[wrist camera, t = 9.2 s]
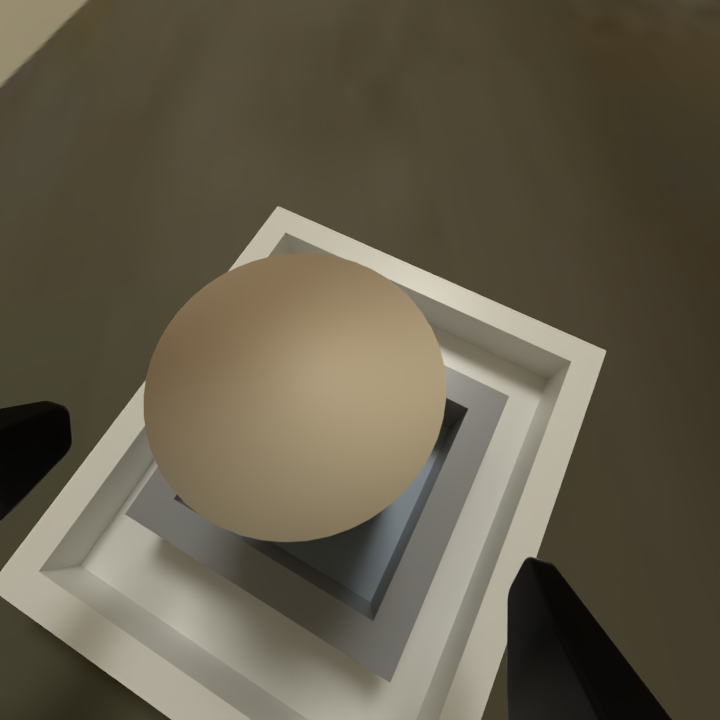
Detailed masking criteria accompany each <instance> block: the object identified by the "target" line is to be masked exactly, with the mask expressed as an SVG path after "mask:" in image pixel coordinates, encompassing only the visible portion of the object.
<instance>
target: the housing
mask: <svg viewBox="0 0 720 720" xmlns="http://www.w3.org/2000/svg"><path fill="white" fill-rule="evenodd" d="M297 253H310V254H323V255H329V256H335V257H340V258H343V259H347V260H350V261H353V262H356V263H359V264H361V265H363V266H366V267H368V268H370V269H372V270H374V271H376V272H377V273H379V274H381V275H383V276H384V277H386V278H387V279H389V280H390V281H391V282H393V283H394V284H395V285H397V286H398V287H399V288H400V289H401V290H402V291H403V292H404V293H405V294H407V295H408V296H409V297H410V298H411V299H412V301H413V302H414V303H415V304H416V306H417V307H418V308H419V309H420V311H421V312H422V313H423V315H424V316H425V318H426V320H427V321H428V323H429V325H430V326H431V328H432V330H433V333H434V335H435V337H436V339H437V342H438V344H439V347H440V351H441V355H442V358H443V362H444V369H445V376H446V403H445V410H444V418H443V421H442V425H441V429H440V432H439V436H438V439H437V441H436V443H435V445H434V448H433V450H432V452H431V455H430V457H429V458H428V460H427V462H426V463H425V465H424V466H423V468H422V470H421V471H420V473H419V474H418V476H417V477H416V478H415V479H414V481H413V482H412V483H411V484H410V485H409V487H408V488H407V489H406V490H405V491H404V492H403V493H402V494H401V495H400V496H399V497H398V498H397V499H396V500H395V501H394V502H393V503H391V504H390V505H389V506H388V507H386V508H385V509H384V510H382V511H381V512H379V513H378V514H377V515H375V516H374V517H372V518H371V519H369V520H367V521H365V522H363V523H361V524H359V525H357V526H355V527H353V528H351V529H349V530H346V531H343V532H340V533H338V534H335V535H332V536H329V537H324V538H319V539H314V540H309V541H297V542H276V541H264V540H258V539H254V538H250V537H246V536H241V535H238V534H236V533H233V532H231V531H228V530H226V529H223V528H221V527H219V526H217V525H215V524H214V523H212V522H210V521H209V520H207V519H205V518H203V517H202V516H200V515H199V514H198V513H197V512H195V511H194V510H193V509H192V508H191V507H189V506H188V505H187V504H186V503H185V502H184V501H183V500H182V499H181V498H180V497H179V496H178V495H177V494H176V493H175V491H174V490H173V489H172V488H171V487H170V485H169V484H168V482H167V481H166V479H165V478H164V476H163V475H162V473H161V472H160V470H159V467H158V465H157V463H156V461H155V459H154V457H153V455H152V452H151V449H150V445H149V442H148V438H147V435H146V429H145V421H144V390H145V383H146V381H145V382H144V383H143V384H142V386H141V387H140V388H139V390H138V391H137V392H136V394H135V395H134V396H133V398H132V399H131V400H130V402H129V403H128V404H127V406H126V407H125V408H124V410H123V411H122V412H121V413H120V415H119V416H118V417H117V419H116V420H115V421H114V423H113V424H112V425H111V427H110V428H109V429H108V431H107V432H106V433H105V435H104V436H103V437H102V439H101V440H100V441H99V442H98V444H97V445H96V446H95V448H94V449H93V450H92V452H91V453H90V454H89V456H88V457H87V458H86V460H85V461H84V462H83V464H82V465H81V466H80V468H79V469H78V470H77V471H76V473H75V474H74V475H73V477H72V478H71V479H70V481H69V482H68V483H67V485H66V486H65V487H64V489H63V490H62V491H61V493H60V494H59V495H58V497H57V498H56V499H55V500H54V502H53V503H52V504H51V506H50V507H49V508H48V510H47V511H46V512H45V514H44V515H43V516H42V518H41V519H40V520H39V522H38V523H37V524H36V526H35V527H34V528H33V529H32V531H31V532H30V533H29V535H28V536H27V537H26V539H25V540H24V541H23V543H22V544H21V545H20V547H19V548H18V549H17V551H16V552H15V553H14V555H13V556H12V557H11V558H10V560H9V561H8V562H7V564H6V565H5V566H4V568H3V569H2V570H1V572H0V596H1V597H3V598H4V599H6V600H7V601H8V602H10V603H11V604H13V605H14V606H15V607H17V608H18V609H19V610H21V611H22V612H24V613H25V614H26V615H28V616H29V617H30V618H32V619H33V620H35V621H36V622H37V623H39V624H40V625H42V626H43V627H44V628H46V629H47V630H48V631H50V632H51V633H53V634H54V635H55V636H57V637H58V638H59V639H61V640H62V641H64V642H65V643H66V644H68V645H69V646H70V647H72V648H73V649H75V650H76V651H77V652H79V653H80V654H82V655H83V656H84V657H86V658H87V659H88V660H90V661H91V662H93V663H94V664H95V665H97V666H98V667H99V668H101V669H102V670H104V671H105V672H106V673H108V674H109V675H111V676H112V677H113V678H115V679H116V680H117V681H119V682H120V683H122V684H123V685H124V686H126V687H127V688H128V689H130V690H131V691H133V692H134V693H135V694H137V695H138V696H140V697H141V698H142V699H144V700H145V701H146V702H148V703H149V704H151V705H152V706H153V707H155V708H156V709H157V710H159V711H160V712H162V713H163V714H164V715H166V716H167V717H168V718H170V719H171V720H481V718H482V715H483V712H484V709H485V706H486V703H487V700H488V697H489V694H490V691H491V688H492V685H493V682H494V680H495V677H496V674H497V671H498V668H499V665H500V662H501V659H502V656H503V653H504V650H505V647H506V644H507V600H508V593H509V589H510V587H511V584H512V583H513V581H514V579H515V577H516V575H517V573H518V571H519V569H520V567H521V566H522V564H523V562H524V560H525V559H526V558H527V557H534V558H536V556H537V553H538V550H539V547H540V544H541V542H542V539H543V536H544V533H545V530H546V527H547V524H548V521H549V518H550V515H551V512H552V509H553V506H554V503H555V500H556V497H557V495H558V492H559V489H560V486H561V483H562V480H563V477H564V474H565V471H566V468H567V465H568V462H569V459H570V456H571V453H572V450H573V448H574V445H575V442H576V439H577V436H578V433H579V430H580V427H581V424H582V421H583V418H584V415H585V412H586V409H587V406H588V403H589V401H590V398H591V395H592V392H593V389H594V386H595V383H596V380H597V377H598V374H599V371H600V368H601V365H602V362H603V359H604V356H605V354H606V350H603V349H601V348H599V347H597V346H594V345H592V344H590V343H587V342H585V341H583V340H581V339H578V338H576V337H574V336H572V335H569V334H567V333H565V332H562V331H560V330H558V329H556V328H553V327H551V326H549V325H547V324H544V323H542V322H540V321H537V320H535V319H533V318H531V317H528V316H526V315H524V314H522V313H519V312H517V311H515V310H513V309H510V308H508V307H506V306H503V305H501V304H499V303H497V302H494V301H492V300H490V299H488V298H485V297H483V296H481V295H478V294H476V293H474V292H472V291H469V290H467V289H465V288H463V287H460V286H458V285H456V284H454V283H451V282H449V281H447V280H444V279H442V278H440V277H438V276H435V275H433V274H431V273H429V272H426V271H424V270H422V269H419V268H417V267H415V266H413V265H410V264H408V263H406V262H404V261H401V260H399V259H397V258H394V257H392V256H390V255H388V254H385V253H383V252H381V251H379V250H376V249H374V248H372V247H370V246H367V245H365V244H363V243H360V242H358V241H356V240H354V239H351V238H349V237H347V236H345V235H342V234H340V233H338V232H335V231H333V230H331V229H329V228H326V227H324V226H322V225H320V224H317V223H315V222H313V221H311V220H308V219H306V218H304V217H301V216H299V215H297V214H295V213H292V212H290V211H288V210H286V209H283V208H281V207H279V206H278V207H277V208H276V209H275V211H274V212H273V213H272V214H271V216H270V217H269V218H268V220H267V221H266V222H265V224H264V225H263V226H262V228H261V229H260V230H259V232H258V233H257V234H256V236H255V237H254V238H253V240H252V241H251V242H250V243H249V245H248V246H247V247H246V249H245V250H244V251H243V253H242V254H241V255H240V257H239V258H238V259H237V261H236V262H235V263H234V265H233V266H232V267H231V269H230V270H229V271H231V270H233V269H235V268H237V267H239V266H242V265H245V264H247V263H250V262H252V261H256V260H259V259H263V258H267V257H271V256H277V255H284V254H297ZM229 271H228V272H229Z"/></svg>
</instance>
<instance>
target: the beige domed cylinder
mask: <svg viewBox="0 0 720 720" xmlns="http://www.w3.org/2000/svg"><path fill="white" fill-rule="evenodd" d="M445 403H446V376H445V369H444V362H443V358H442V355H441V351H440V347H439V344H438V342H437V339H436V337H435V335H434V333H433V330H432V328H431V326H430V325H429V323H428V321H427V320H426V318H425V316H424V315H423V313H422V312H421V311H420V309H419V308H418V307H417V306H416V304H415V303H414V302H413V301H412V299H411V298H410V297H409V296H408V295H407V294H405V293H404V292H403V291H402V290H401V289H400V288H399V287H398V286H397V285H395V284H394V283H393V282H391V281H390V280H389V279H387V278H386V277H384V276H383V275H381V274H379V273H377V272H376V271H374V270H372V269H370V268H368V267H366V266H363V265H361V264H359V263H356V262H353V261H350V260H347V259H343V258H340V257H335V256H329V255H323V254H310V253H297V254H284V255H277V256H271V257H267V258H263V259H259V260H256V261H252V262H250V263H247V264H245V265H242V266H239V267H237V268H235V269H233V270H231V271H229V272H227V273H225V274H223V275H221V276H220V277H218V278H217V279H215V280H214V281H212V282H211V283H209V284H208V285H206V286H205V287H204V288H202V289H201V290H200V291H199V292H198V293H196V294H195V295H194V296H193V297H192V298H191V299H190V300H189V301H188V302H187V303H186V304H185V305H184V306H183V307H182V308H181V309H180V310H179V311H178V313H177V314H176V315H175V317H174V318H173V319H172V321H171V322H170V323H169V325H168V326H167V328H166V330H165V332H164V333H163V335H162V337H161V338H160V340H159V342H158V344H157V347H156V349H155V351H154V354H153V356H152V359H151V362H150V366H149V369H148V373H147V376H146V383H145V390H144V421H145V429H146V435H147V438H148V442H149V445H150V449H151V452H152V455H153V457H154V459H155V461H156V463H157V465H158V467H159V470H160V472H161V473H162V475H163V476H164V478H165V479H166V481H167V482H168V484H169V485H170V487H171V488H172V489H173V490H174V491H175V493H176V494H177V495H178V496H179V497H180V498H181V499H182V500H183V501H184V502H185V503H186V504H187V505H188V506H189V507H191V508H192V509H193V510H194V511H195V512H197V513H198V514H199V515H200V516H202V517H203V518H205V519H207V520H209V521H210V522H212V523H214V524H215V525H217V526H219V527H221V528H223V529H226V530H228V531H231V532H233V533H236V534H238V535H241V536H246V537H250V538H254V539H258V540H264V541H276V542H297V541H309V540H314V539H319V538H324V537H329V536H332V535H335V534H338V533H340V532H343V531H346V530H349V529H351V528H353V527H355V526H357V525H359V524H361V523H363V522H365V521H367V520H369V519H371V518H372V517H374V516H375V515H377V514H378V513H379V512H381V511H382V510H384V509H385V508H386V507H388V506H389V505H390V504H391V503H393V502H394V501H395V500H396V499H397V498H398V497H399V496H400V495H401V494H402V493H403V492H404V491H405V490H406V489H407V488H408V487H409V485H410V484H411V483H412V482H413V481H414V479H415V478H416V477H417V476H418V474H419V473H420V471H421V470H422V468H423V466H424V465H425V463H426V462H427V460H428V458H429V457H430V455H431V452H432V450H433V448H434V445H435V443H436V441H437V439H438V436H439V432H440V429H441V425H442V421H443V418H444V410H445Z"/></svg>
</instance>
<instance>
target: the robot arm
mask: <svg viewBox="0 0 720 720" xmlns="http://www.w3.org/2000/svg"><path fill="white" fill-rule="evenodd" d="M71 445H72V428H71V416H70V411H69V410H68V408H67V407H65V406H63V405H60V404H57V403H54V402H50V401H41V402H36V403H30V404H24V405H19V406H13V407H8V408H2V409H0V522H1V521H2V520H3V519H4V518H5V517H6V516H7V515H8V514H9V513H10V512H11V511H12V510H13V509H14V508H15V507H16V506H17V505H18V504H19V503H20V502H21V501H22V500H23V499H24V498H25V497H26V496H27V495H28V494H29V493H30V492H31V491H32V489H33V488H34V487H35V486H36V485H37V484H38V483H39V482H40V481H41V480H42V479H43V478H44V477H45V476H46V475H47V474H48V473H49V472H50V471H51V470H52V469H53V467H54V466H55V465H56V464H57V463H58V462H59V461H60V460H61V459H62V458H63V457H64V456H65V455H66V454H67V453H68V451H69V449H70V448H71ZM507 703H508V717H509V720H672V719H671V718H670V717H669V715H668V714H667V713H666V711H665V710H664V709H663V708H662V706H661V705H660V704H659V702H658V701H657V700H656V698H655V697H654V696H653V694H652V693H651V692H650V690H649V689H648V688H647V687H646V685H645V684H644V683H643V681H642V680H641V679H640V677H639V676H638V675H637V673H636V672H635V671H634V669H633V668H632V667H631V665H630V664H629V663H628V662H627V660H626V659H625V658H624V656H623V655H622V654H621V652H620V651H619V650H618V648H617V647H616V646H615V644H614V643H613V642H612V641H611V639H610V638H609V637H608V635H607V634H606V633H605V631H604V630H603V629H602V627H601V626H600V625H599V623H598V622H597V621H596V620H595V618H594V617H593V616H592V614H591V613H590V612H589V610H588V609H587V608H586V606H585V605H584V604H583V602H582V601H581V600H580V599H579V597H578V596H577V595H576V593H575V592H574V591H573V589H572V588H571V587H570V585H569V584H568V583H567V581H566V580H565V579H564V577H563V576H562V575H561V574H560V572H559V571H558V570H557V568H556V567H555V566H554V565H553V564H551V563H549V562H547V561H544V560H541V559H537V558H534V557H527V558H526V559H525V560H524V562H523V564H522V566H521V567H520V569H519V571H518V573H517V575H516V577H515V579H514V581H513V583H512V584H511V587H510V589H509V593H508V600H507Z"/></svg>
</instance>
